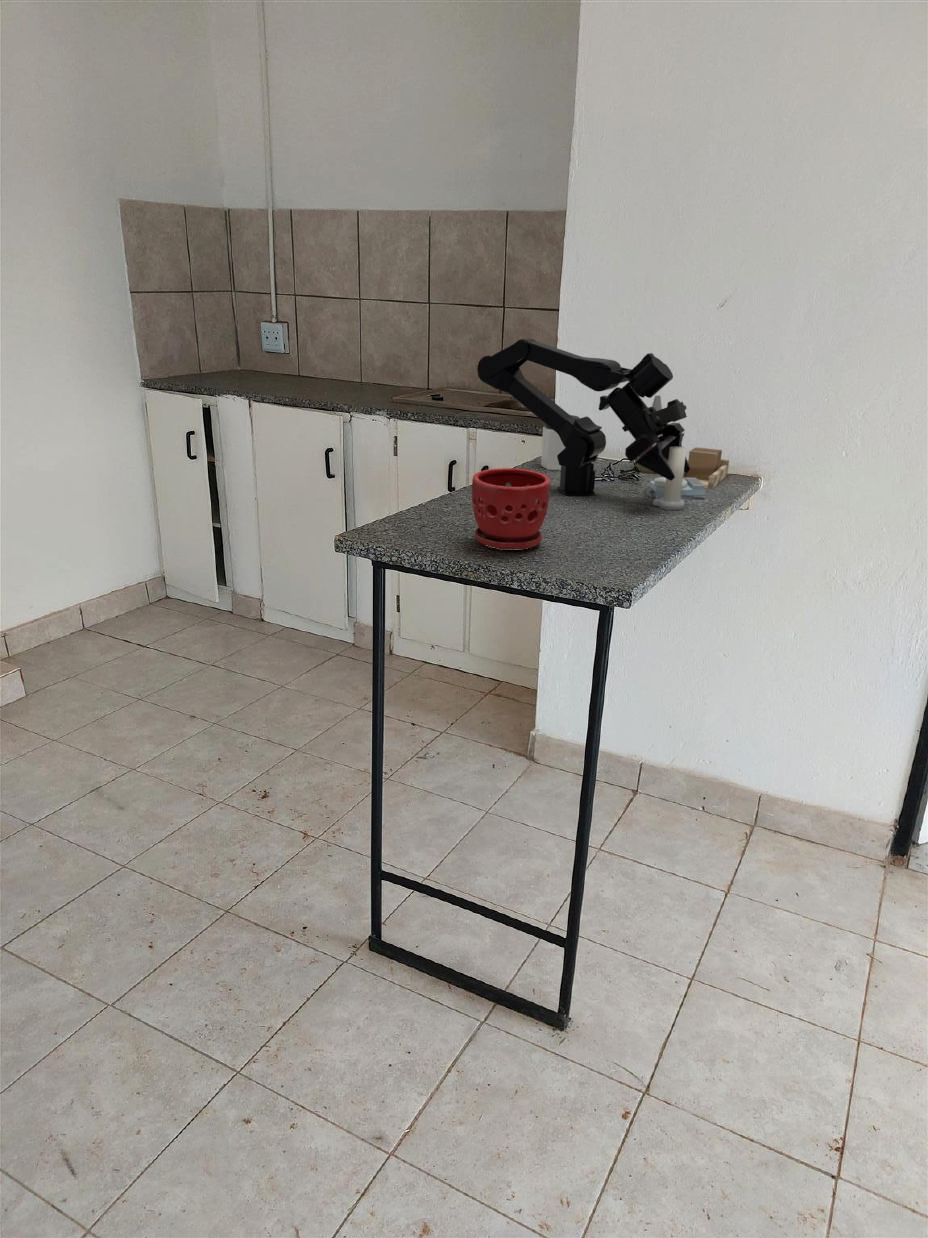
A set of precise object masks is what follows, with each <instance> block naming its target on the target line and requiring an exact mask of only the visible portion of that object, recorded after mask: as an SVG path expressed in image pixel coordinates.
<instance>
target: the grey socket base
mask: <svg viewBox="0 0 928 1238" xmlns="http://www.w3.org/2000/svg"><path fill="white" fill-rule="evenodd" d="M649 486H650V488H651V489H652V490H650V492H651V493H652V495H653V497H655V499H660V498H663V497H664V494H665V486H666V478H665V477H663V476H659V477H655V478H654V480H650V481H649ZM700 496H706V488H705V485H703V484H702V483H701V482H700V481H699V480H698V479H697V478H685V480H684V479H683V481H682V489H681V497H680V499H683V500H698V501H699V500H700V501H701V500H703V501H704V500H705V497H700Z"/></svg>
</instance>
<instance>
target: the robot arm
mask: <svg viewBox="0 0 928 1238" xmlns="http://www.w3.org/2000/svg"><path fill="white" fill-rule="evenodd" d="M528 361H529V362H532V363H535V364H538V365H540V366H543V367H546V368H548V369H549V368H550V369H552V370H555V371H557V372H561V373H563V374H566V375H570V376H571V377H573V378H574V379H576V380H577V381H578V382H580V384H581V385H584V386H585V387H587V388H589V389H590V390H592V391H594V392H604V391H608V390H611V389H613V390H612V391H610V393H609V394H607V395H601V396H600V397H599V405H598V411H600V412H601V411H605V410H608V409H609V408H611V410H612V411H613V413H614V414H615V416H616V417H617V418H618V419H619V421H620V422H621V423H622V424H623V426H622V428H621V429H622V430H623V432H625V433H626V432H629V434H630V435H631V436H632V438H633V439H634V441H632V442H631V443H630V444H629V445H628V446H627V447H626V448H625V452H624V453H625V454H624V455H625V457H626V458H627V459H628V461H629V462H630V463H633V462H634V464H635V463H636V464H639V465H641V466H643V467H645V468H647V469H649V470H651V471H653V472H655V473H654V474H657V475H659V476H660V477H665V478H667V479H668V480H673V479H674V478H675V475H674V473H673V472H672V470H671V468H670V466H669V465H668V463H667V461H666V459H667V460H668V459H669V451H670V447H673V446H677V447H683V445H682V443H683V439H684V436H685V429H684V427H683V426H682V425H681V423H680V422H677V421H680V420H684V419H685V418H688V416H687V413H686V410H687V405H685V403H684V402H683V401H679V399H678V398H675V399H673V400H670V401H668V402H667V405H666V407H664V408H662V409H661V410H658V411H656V409H655V408H654V407H652V406H650V407H649V406H648V405H647V404H646V403H645V402H644V400H643V399H642V398H645V397H646V398H648V399H650V398H653V397H655V396H656V394H657V393H658V392H660V391H661V389H663V388H664V387H665V386H666V385H667V384H669V382H670V381H672V380H673V379H674V375H673V372H672V370H671V368H670V367H669V366H668V365H667V363H664V362H663V361H662V360H661V359H660V358H658V357H656V356H655V355H654V353H652V352H651V353H650V352H649V353H646V354H645V355H644V356H643V357H642V359H641V360H640V361H639V362H638V363H637V364H636V365H635V366H634V367H633V368H626V367H622V366H621V364H620V363H619V361H617V360H614V359H608V358H607V359H606V358H600V357H599V358H598V357H586V356H581V355H578V354H574V353H572V352H569V351H567V350H563V349H561V348H558V347H555V346H551V345H549V344H545V343H542V342H540V341H537V340H535V339H534V338H529V337H528V338H521V339H518V340H517V341H516V342H515V343H513V344H511V345H509V346H507V347H505V348H504V349H502V350H500V351H498V352H496V353H495V354H489V355H486V356H483V357H482V358H481V359H480V360H479V361H478V364H477V366H476V367H477V369H476V370H477V371H476V372H477V377H478V379H479V380H480V381H481V382H483V383H484V384H486V385H487V386H489V387H491V388H493V389H495V390H498V391H501V392H504V393H507V394H508V395H510V396H511V397H512V398H514V399H515V400H516V401H517V402H518V403H520V405H522V406H523V407H525V408H526V409H527V410H528V411H530V412H531V414H533V415H535V416H536V417H537V418H538V419H539V420H540V421H542V422H543V423H544V425H545V424H547V425H548V426H549V427H550V428H551V429H553V430H554V431H555V432H556V433H557V434H558V435H559V437H560V439H561V441H562V443H563V445H564V446H565V449H564V450H563V451H561V452H560V453H559V454H558V455H557V458H558V462H559V465H561V471H560V475H559V486H556V490H558V491H559V492H561V493H562V494H563V495H565V496H589V495H590V496H593V495H596V494H595V493H596V492H595V491H594V490H595V485H596V484H595V483H596V481H595V480H596V470H595V469H594V468H595V464H594V463H595V462H596V461H597V459H598V457H599V455H600V454H602V452H604V451H605V448H606V447H607V440H606V437H607V436H606V434H605V433H604V432H603V431H602V426H600V425H597V424H596V423H595V422H594V421H593V420H592V419H591V418H590V417H589V416H583V417H579V419H575V418H573V417H572V416H570V415H571V414H570V413H568V412H567V411H566V410H564V409H563V408H562V407H561V406H560V405H558V404H557V403H556V402H555V401H553V400H552V399H551V398H550V397H548V396H547V395H546V394H545V393H543V391H541V390H540V389H538V388H537V387H536V386H535V385H534V384H532V383H531V382H530V381H529V380H527V379H526V377H525V376H524V374H523V372H522V370H521V367H522V366H524V365H525V364H526V362H528ZM626 382H627V383H626ZM623 383H626V384H624V386H622V387H618V386H619V385H620V384H623ZM671 422H672V423H671ZM667 423H668V424H667ZM638 456H639V457H640V458H639V459H638ZM665 458H666V459H665ZM637 459H638V460H637ZM635 460H637V461H636V462H635ZM636 464H635V465H636ZM689 470H690V466H689V464H688V459H687V455H686V456H685V464H684V472H688V471H689Z"/></svg>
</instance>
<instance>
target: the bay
mask: <svg viewBox="0 0 928 1238" xmlns="http://www.w3.org/2000/svg"><path fill="white" fill-rule="evenodd" d="M729 464H730V460H729V459H722V458H721V462H720V468H719V469H718V470H717V471H715V472H714V473H713V474H712V475H711V476H710V477H709V480H700V479H698V480H699V481H700V482H701V483H702V484H703V485H705V489H708V490H713V489H714V488H715V487H716V486H717V485H719V484H720V483H721V482H722V481H723V480H724V479H725V478H726V477H727V476H728V472H729ZM686 477H687V472H684V473H683V479H684V480H685V478H686Z"/></svg>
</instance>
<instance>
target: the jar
mask: <svg viewBox="0 0 928 1238" xmlns="http://www.w3.org/2000/svg"><path fill="white" fill-rule="evenodd" d="M569 415H570V416H572V417H573V418H575V419H579V418H580V416H578V415H574V414H569ZM541 438H542V441H541V442H542V443H541V460H540V466H542V468H544V469H546V470H548V471H560V472H561V465H559V462H558V458H557V455H558V454H559V453H560V452H561V451H563V450H564V449H565V446H564V445H563V443H562V441H561V439H560V437H559V435H558V434H557V433H556V432H555V431H554V430H553V429H551V428H550V427H549V426H548V425H547V424H545V423H544V426H543V427H542V437H541Z"/></svg>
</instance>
